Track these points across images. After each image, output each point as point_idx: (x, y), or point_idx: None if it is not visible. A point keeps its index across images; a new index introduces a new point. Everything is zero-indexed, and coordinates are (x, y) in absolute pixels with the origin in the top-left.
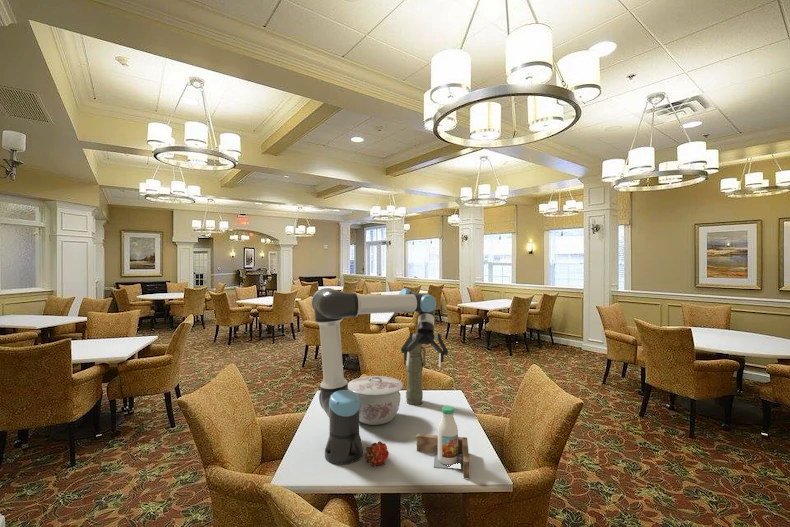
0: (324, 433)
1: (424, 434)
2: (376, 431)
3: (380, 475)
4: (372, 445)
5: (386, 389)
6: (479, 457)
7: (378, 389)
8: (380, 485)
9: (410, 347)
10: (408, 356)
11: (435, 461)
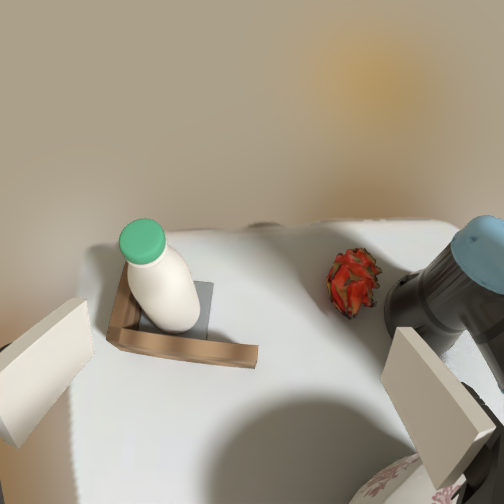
0: (484, 395)
1: (233, 357)
2: (381, 447)
3: (327, 249)
4: (370, 270)
5: (420, 498)
6: (98, 328)
7: None
8: (319, 222)
9: (501, 500)
10: (446, 387)
11: (207, 304)
